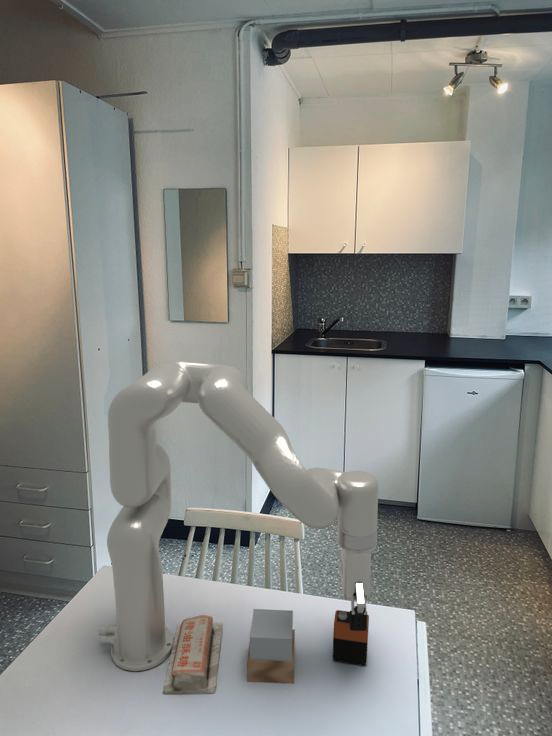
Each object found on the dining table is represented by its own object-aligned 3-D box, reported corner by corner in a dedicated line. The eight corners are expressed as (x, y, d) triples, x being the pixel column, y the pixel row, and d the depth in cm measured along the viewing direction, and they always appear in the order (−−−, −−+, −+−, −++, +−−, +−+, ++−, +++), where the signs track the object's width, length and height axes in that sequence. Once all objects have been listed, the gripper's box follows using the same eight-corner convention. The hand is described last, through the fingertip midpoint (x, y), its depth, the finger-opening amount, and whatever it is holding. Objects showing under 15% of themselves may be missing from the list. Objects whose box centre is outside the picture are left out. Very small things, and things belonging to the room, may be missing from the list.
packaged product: (215, 674, 99) (161, 675, 99) (216, 696, 100) (162, 696, 100) (222, 609, 117) (176, 609, 116) (223, 628, 118) (177, 628, 118)
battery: (366, 667, 107) (368, 624, 104) (332, 661, 108) (333, 619, 106) (367, 651, 111) (369, 609, 108) (334, 646, 112) (335, 604, 110)
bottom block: (247, 682, 103) (247, 661, 102) (251, 648, 112) (251, 627, 111) (294, 684, 103) (294, 662, 102) (294, 650, 111) (294, 629, 110)
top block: (249, 659, 102) (249, 637, 101) (253, 629, 110) (253, 608, 109) (291, 661, 102) (291, 639, 101) (292, 631, 110) (292, 610, 108)
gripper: (334, 513, 112) (334, 585, 115) (340, 561, 95) (339, 643, 99) (370, 513, 111) (369, 585, 115) (383, 561, 94) (380, 644, 98)
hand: (355, 612), depth 107 cm, fingers open, 9 cm apart
